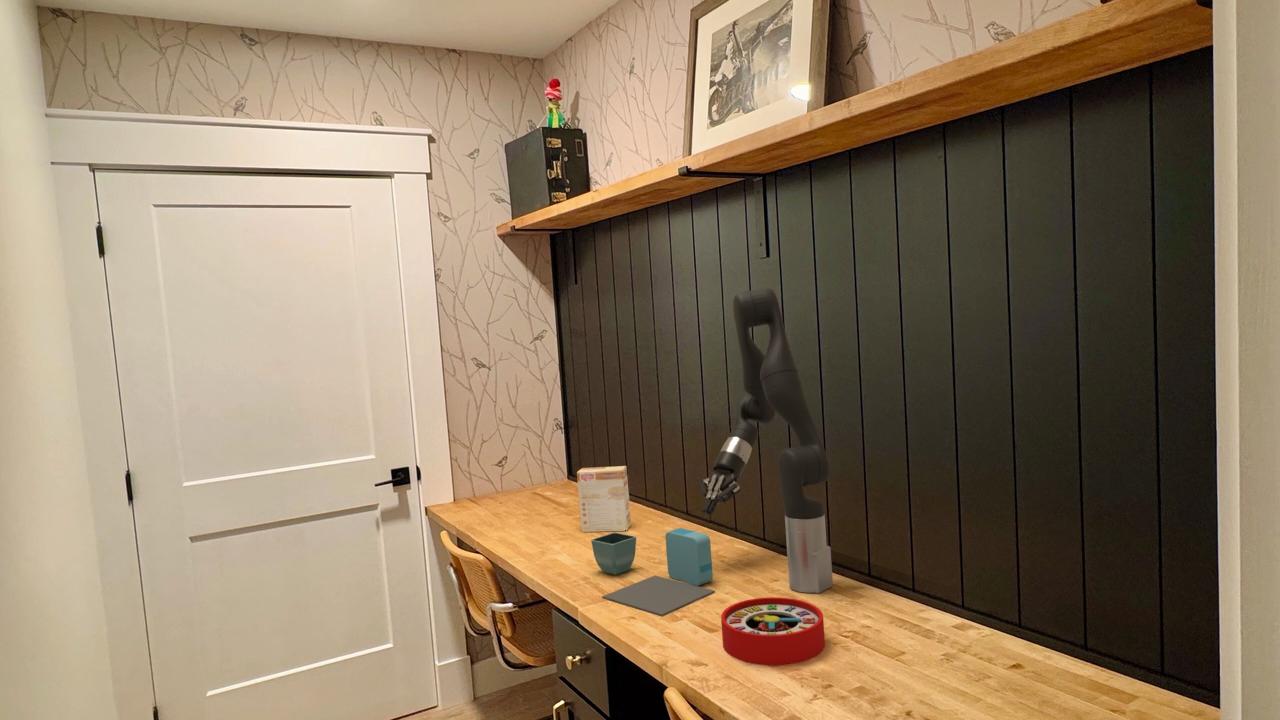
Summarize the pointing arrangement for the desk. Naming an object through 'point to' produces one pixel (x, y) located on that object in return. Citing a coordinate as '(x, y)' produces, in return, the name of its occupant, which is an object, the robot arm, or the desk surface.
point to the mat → (658, 595)
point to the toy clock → (773, 631)
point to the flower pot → (614, 552)
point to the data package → (689, 556)
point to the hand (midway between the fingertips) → (705, 513)
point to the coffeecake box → (604, 499)
